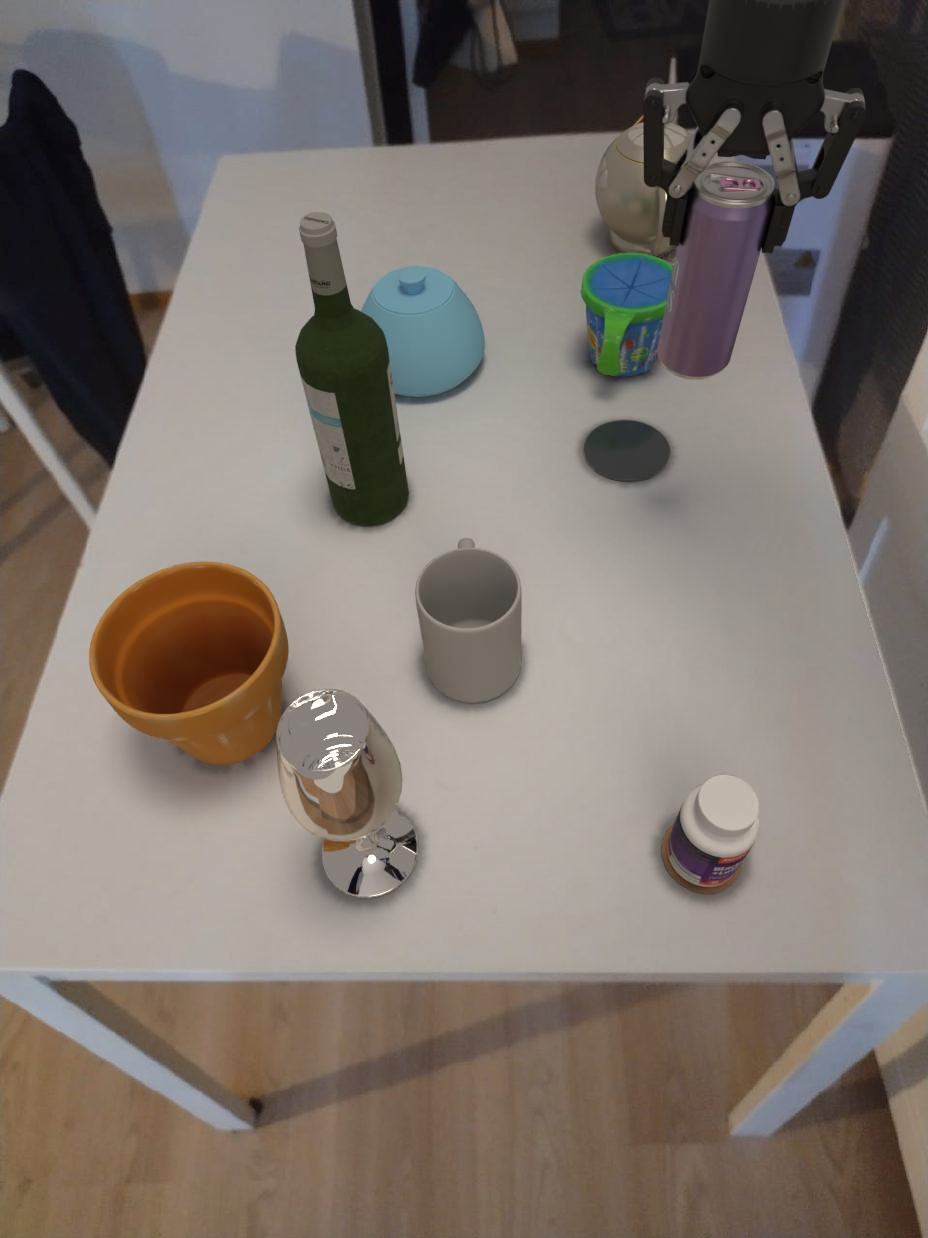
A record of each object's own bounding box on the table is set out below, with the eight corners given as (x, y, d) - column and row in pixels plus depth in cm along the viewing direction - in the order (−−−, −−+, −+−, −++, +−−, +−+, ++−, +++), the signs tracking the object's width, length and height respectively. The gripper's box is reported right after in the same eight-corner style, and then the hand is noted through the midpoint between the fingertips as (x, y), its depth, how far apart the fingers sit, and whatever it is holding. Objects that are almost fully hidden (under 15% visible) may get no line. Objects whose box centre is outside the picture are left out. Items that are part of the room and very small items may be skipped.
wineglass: (309, 893, 65) (240, 782, 49) (332, 797, 69) (275, 666, 53) (411, 906, 64) (374, 797, 48) (427, 808, 69) (399, 678, 52)
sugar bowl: (386, 314, 106) (374, 225, 97) (502, 334, 103) (500, 244, 93) (337, 391, 98) (317, 302, 89) (460, 416, 95) (453, 326, 86)
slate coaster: (672, 426, 92) (673, 424, 92) (666, 486, 87) (666, 484, 87) (589, 417, 94) (589, 415, 94) (578, 476, 89) (578, 474, 89)
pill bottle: (711, 904, 63) (739, 857, 55) (651, 854, 65) (670, 803, 57) (753, 852, 65) (786, 800, 57) (694, 805, 67) (718, 749, 59)
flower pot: (230, 625, 80) (186, 533, 69) (346, 698, 75) (318, 611, 64) (115, 739, 74) (47, 657, 63) (234, 827, 68) (182, 754, 58)
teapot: (584, 214, 117) (593, 84, 104) (685, 207, 117) (706, 76, 103) (601, 293, 107) (613, 159, 93) (711, 286, 106) (739, 151, 93)
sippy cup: (642, 413, 94) (654, 334, 85) (553, 388, 97) (556, 309, 89) (688, 331, 102) (703, 251, 93) (604, 310, 105) (611, 231, 96)
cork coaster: (743, 824, 66) (744, 823, 66) (740, 900, 63) (741, 899, 63) (664, 810, 67) (665, 809, 67) (658, 885, 64) (658, 883, 64)
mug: (525, 701, 74) (527, 628, 65) (426, 707, 74) (414, 635, 65) (514, 590, 81) (514, 510, 72) (424, 596, 81) (412, 517, 72)
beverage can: (729, 385, 70) (781, 206, 57) (655, 380, 70) (690, 201, 58) (727, 339, 73) (775, 161, 61) (656, 334, 73) (689, 156, 61)
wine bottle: (424, 488, 89) (389, 208, 64) (378, 538, 85) (323, 262, 61) (363, 461, 92) (308, 182, 67) (317, 508, 88) (241, 232, 64)
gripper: (649, -9, 48) (616, 265, 62) (922, 1, 46) (824, 282, 60) (658, -59, 52) (625, 208, 66) (908, -52, 50) (820, 222, 64)
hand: (720, 242), depth 63 cm, fingers closed on beverage can, 6 cm apart
